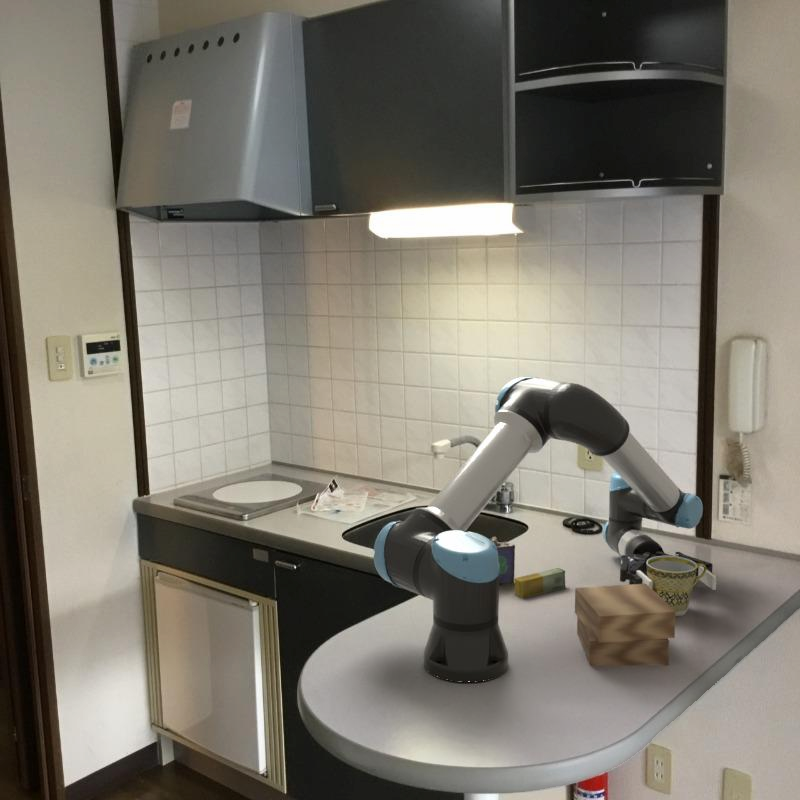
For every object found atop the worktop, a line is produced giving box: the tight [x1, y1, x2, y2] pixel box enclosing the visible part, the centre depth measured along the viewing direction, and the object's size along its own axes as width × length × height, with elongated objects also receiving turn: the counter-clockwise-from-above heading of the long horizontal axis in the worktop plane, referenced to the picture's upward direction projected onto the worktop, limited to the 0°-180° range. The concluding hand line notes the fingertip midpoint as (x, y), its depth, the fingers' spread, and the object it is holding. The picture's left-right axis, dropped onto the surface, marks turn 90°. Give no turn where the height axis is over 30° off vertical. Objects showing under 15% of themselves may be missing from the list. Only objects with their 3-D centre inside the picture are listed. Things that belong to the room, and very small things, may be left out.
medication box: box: [514, 567, 566, 599], centre depth 210 cm, size 12×3×4 cm, turn 119°
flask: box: [489, 536, 516, 586], centre depth 214 cm, size 9×3×11 cm, turn 109°
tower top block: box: [574, 584, 676, 643], centre depth 180 cm, size 14×14×5 cm
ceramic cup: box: [646, 555, 706, 617], centre depth 198 cm, size 13×10×10 cm
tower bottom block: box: [576, 615, 670, 666], centre depth 181 cm, size 14×14×5 cm
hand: (682, 585), depth 196 cm, fingers open, 13 cm apart
